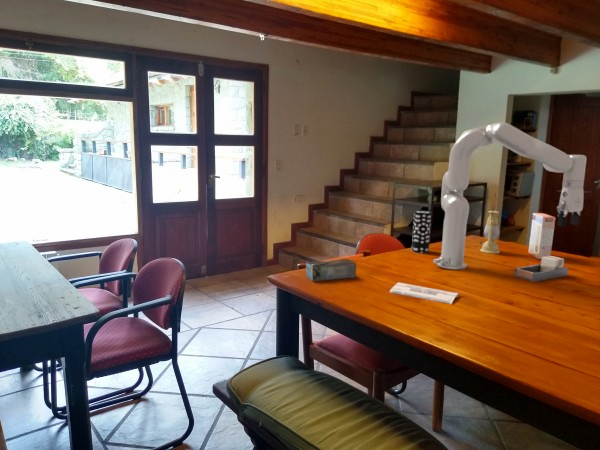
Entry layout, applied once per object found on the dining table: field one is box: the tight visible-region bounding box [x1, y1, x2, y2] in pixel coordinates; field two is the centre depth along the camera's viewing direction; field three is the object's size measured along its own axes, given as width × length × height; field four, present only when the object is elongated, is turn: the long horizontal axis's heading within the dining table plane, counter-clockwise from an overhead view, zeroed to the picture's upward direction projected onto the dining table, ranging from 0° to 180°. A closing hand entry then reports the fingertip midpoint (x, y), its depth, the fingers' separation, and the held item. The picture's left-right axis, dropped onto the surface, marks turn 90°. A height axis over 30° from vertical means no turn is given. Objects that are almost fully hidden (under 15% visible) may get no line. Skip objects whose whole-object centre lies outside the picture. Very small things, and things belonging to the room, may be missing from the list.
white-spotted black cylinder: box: [411, 210, 432, 254], centre depth 228 cm, size 8×8×20 cm
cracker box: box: [527, 212, 556, 260], centre depth 222 cm, size 14×6×21 cm, turn 171°
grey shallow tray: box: [513, 263, 569, 283], centre depth 189 cm, size 22×9×3 cm, turn 119°
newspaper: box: [389, 282, 460, 305], centre depth 163 cm, size 23×12×2 cm, turn 59°
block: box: [540, 255, 565, 271], centre depth 192 cm, size 6×6×6 cm
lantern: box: [479, 193, 500, 255], centre depth 230 cm, size 12×10×30 cm
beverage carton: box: [305, 258, 357, 282], centre depth 181 cm, size 8×19×7 cm, turn 110°
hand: (568, 225), depth 193 cm, fingers open, 8 cm apart
